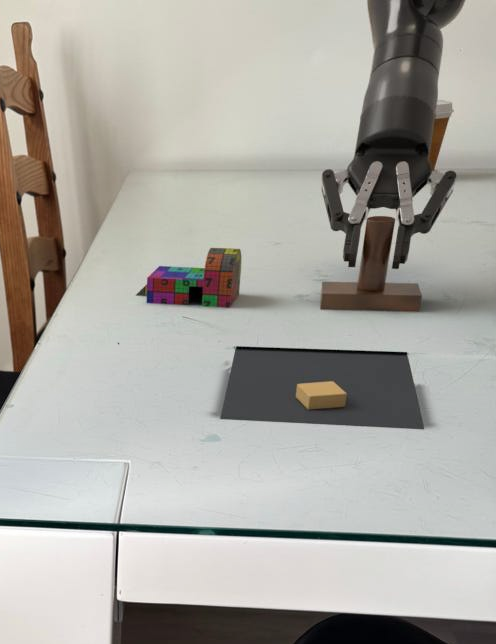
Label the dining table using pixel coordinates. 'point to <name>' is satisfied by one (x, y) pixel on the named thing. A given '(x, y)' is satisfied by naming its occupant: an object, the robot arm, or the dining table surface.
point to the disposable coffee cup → (439, 129)
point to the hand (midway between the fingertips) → (374, 263)
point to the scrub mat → (322, 366)
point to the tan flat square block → (321, 395)
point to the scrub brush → (373, 277)
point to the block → (198, 281)
